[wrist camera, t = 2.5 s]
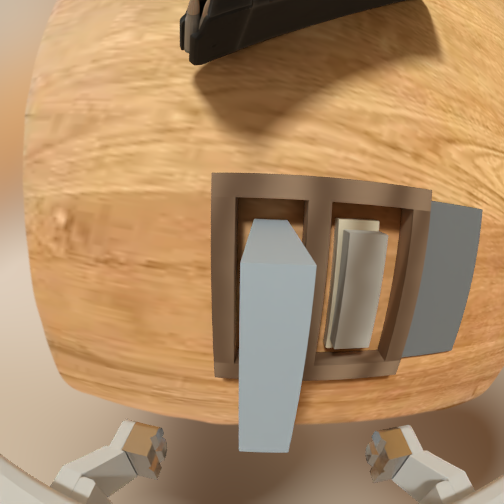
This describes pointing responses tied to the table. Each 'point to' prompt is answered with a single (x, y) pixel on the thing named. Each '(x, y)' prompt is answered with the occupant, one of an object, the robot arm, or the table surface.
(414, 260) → the rack
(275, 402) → the sheet
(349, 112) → the table surface
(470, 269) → the mat
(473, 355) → the table surface
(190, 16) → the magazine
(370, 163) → the table surface
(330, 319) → the offcut lower
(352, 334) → the offcut upper
